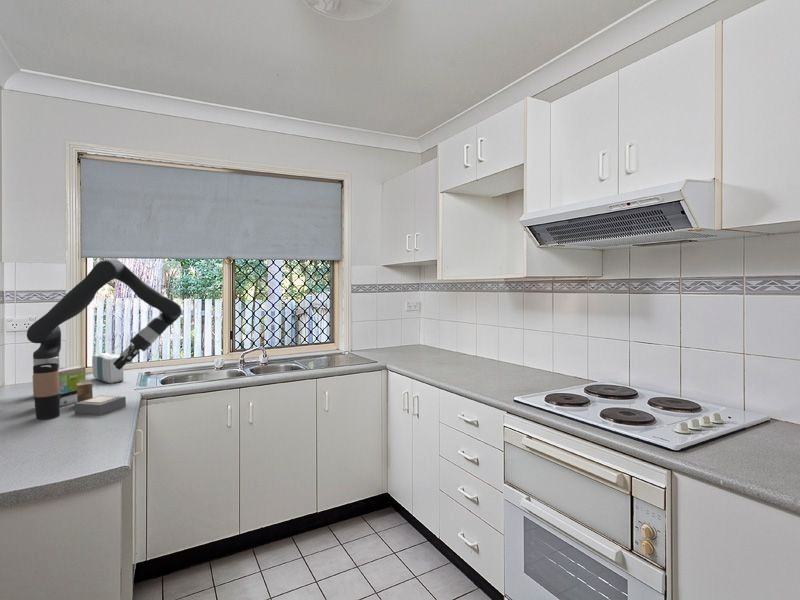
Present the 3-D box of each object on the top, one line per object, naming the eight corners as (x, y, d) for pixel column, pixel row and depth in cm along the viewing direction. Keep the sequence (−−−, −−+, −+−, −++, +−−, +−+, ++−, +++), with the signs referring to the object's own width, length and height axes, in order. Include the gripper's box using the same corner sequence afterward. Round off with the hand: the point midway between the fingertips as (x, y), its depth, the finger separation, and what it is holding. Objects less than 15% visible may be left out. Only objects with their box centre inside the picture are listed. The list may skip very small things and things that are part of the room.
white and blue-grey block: (92, 379, 235) (90, 341, 234) (109, 376, 242) (108, 339, 241) (108, 384, 223) (106, 344, 222) (126, 381, 229) (124, 342, 228)
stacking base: (75, 413, 175) (74, 402, 175) (101, 404, 187) (100, 394, 187) (100, 415, 173) (100, 404, 173) (125, 406, 184) (125, 396, 184)
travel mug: (39, 415, 173) (37, 364, 172) (63, 413, 176) (61, 362, 175) (31, 421, 166) (29, 367, 165) (56, 418, 169) (54, 366, 168)
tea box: (54, 409, 182) (52, 373, 181) (34, 407, 184) (32, 372, 183) (87, 399, 196) (85, 365, 196) (68, 398, 198) (66, 365, 198)
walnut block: (78, 407, 184) (77, 385, 183) (77, 404, 188) (76, 383, 187) (92, 405, 187) (92, 383, 187) (92, 402, 191) (91, 381, 190)
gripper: (135, 331, 204) (106, 359, 198) (140, 334, 193) (110, 364, 186) (149, 341, 208) (121, 369, 201) (154, 345, 196) (125, 375, 190)
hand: (115, 367), depth 194 cm, fingers open, 8 cm apart
